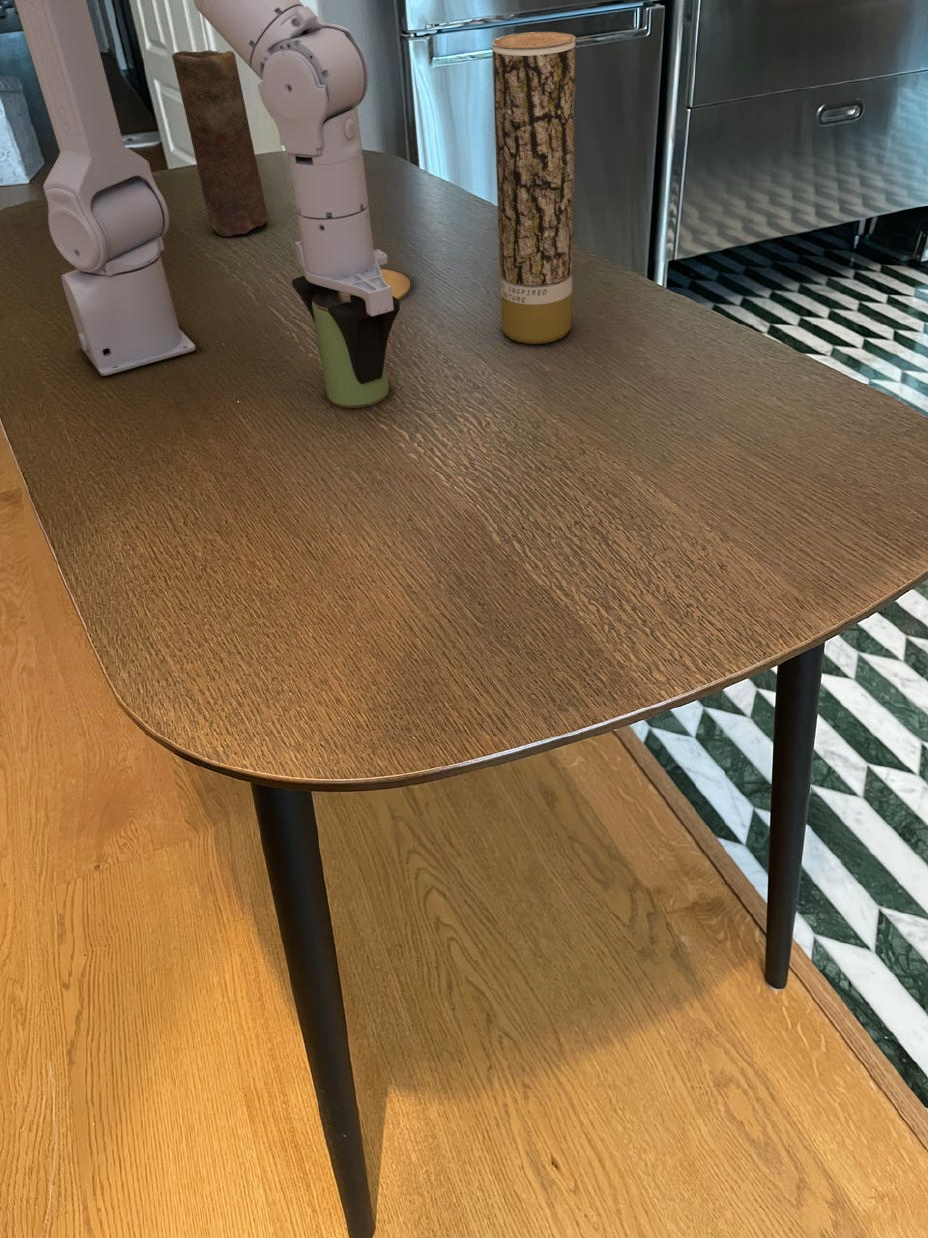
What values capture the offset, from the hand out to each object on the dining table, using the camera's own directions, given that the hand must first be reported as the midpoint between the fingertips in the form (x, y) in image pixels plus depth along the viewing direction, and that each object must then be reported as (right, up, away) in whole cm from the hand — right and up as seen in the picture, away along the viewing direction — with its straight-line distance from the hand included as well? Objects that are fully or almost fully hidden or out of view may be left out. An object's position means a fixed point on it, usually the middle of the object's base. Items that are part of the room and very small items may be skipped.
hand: (354, 367), depth 85 cm
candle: (-19, +28, +39) cm, 52 cm away
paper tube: (+17, +6, +10) cm, 20 cm away
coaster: (-2, +14, +20) cm, 25 cm away
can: (0, -2, +2) cm, 3 cm away
